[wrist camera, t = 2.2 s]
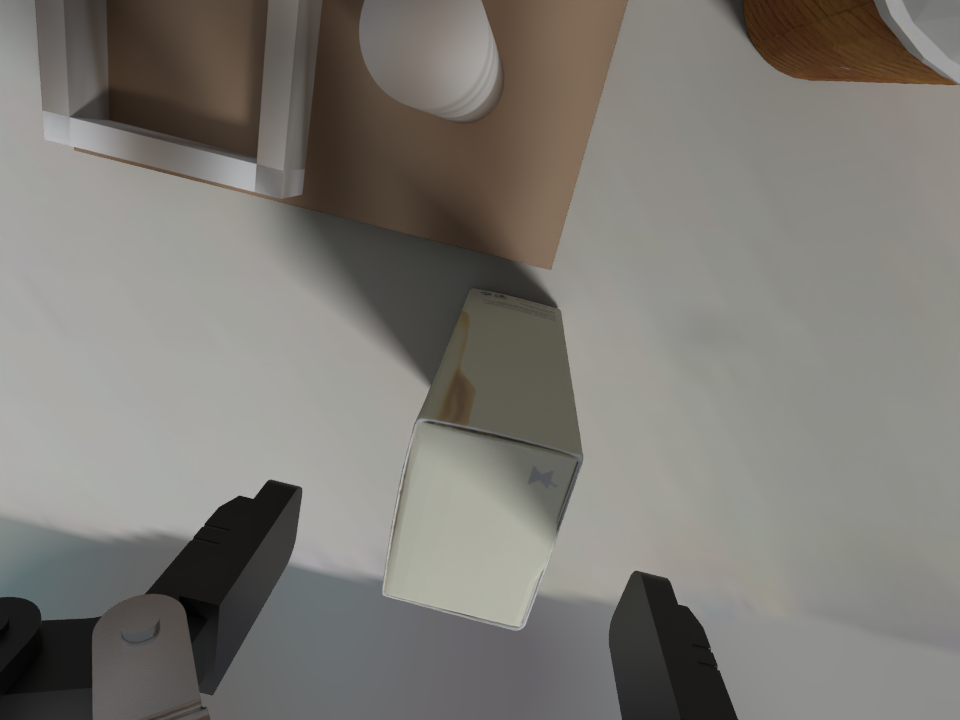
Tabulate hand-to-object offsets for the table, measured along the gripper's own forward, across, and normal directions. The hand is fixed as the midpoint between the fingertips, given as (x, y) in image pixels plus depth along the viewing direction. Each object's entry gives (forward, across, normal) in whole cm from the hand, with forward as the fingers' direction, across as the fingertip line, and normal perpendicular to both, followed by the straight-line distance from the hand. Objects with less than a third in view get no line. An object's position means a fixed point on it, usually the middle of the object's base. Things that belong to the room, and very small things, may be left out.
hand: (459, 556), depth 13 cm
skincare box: (+14, 0, 0) cm, 14 cm away
